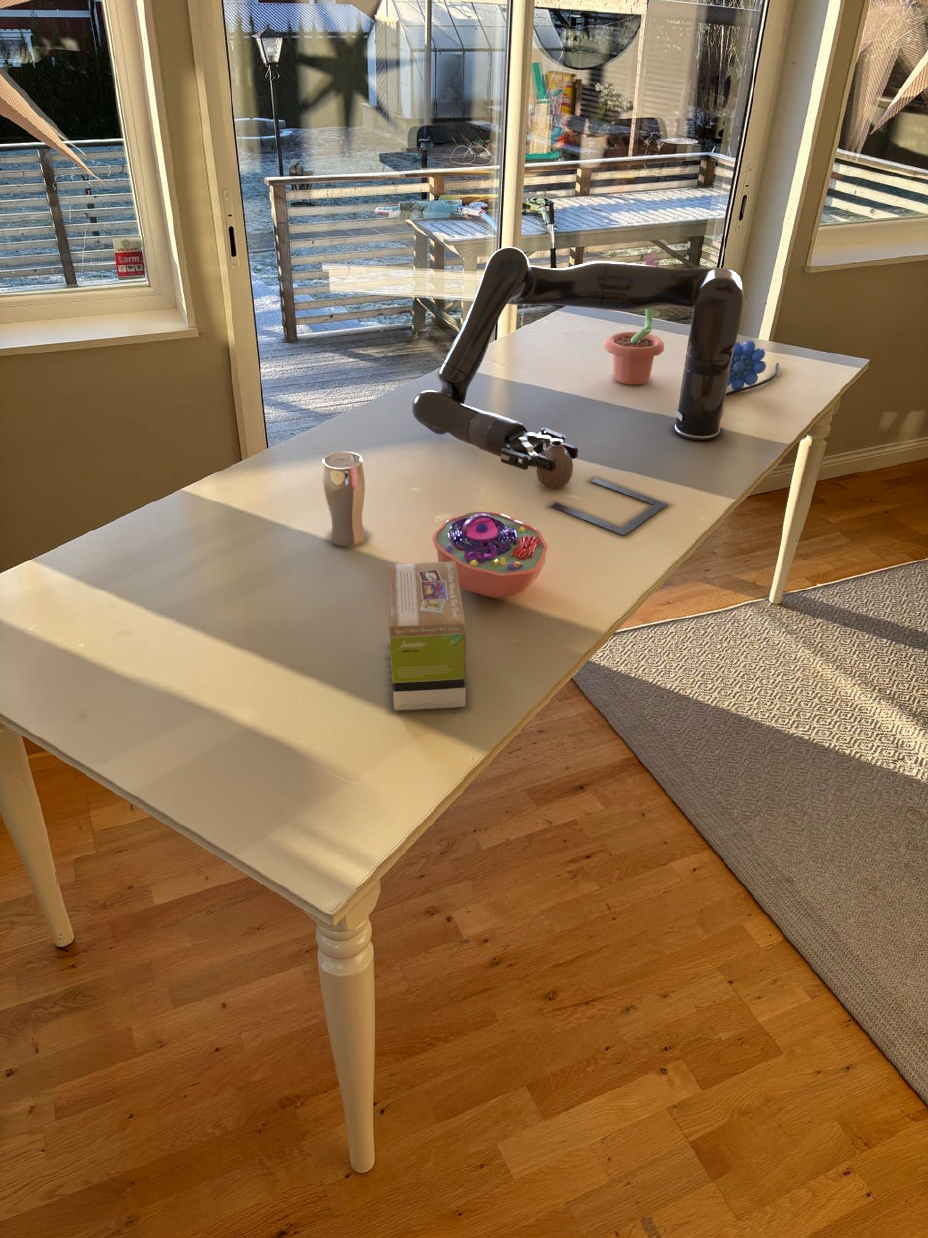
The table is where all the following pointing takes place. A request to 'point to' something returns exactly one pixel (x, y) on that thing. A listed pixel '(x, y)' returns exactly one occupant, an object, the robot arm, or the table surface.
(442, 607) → the tea box
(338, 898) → the table surface
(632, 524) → the tape u shape
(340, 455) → the beer glass
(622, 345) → the decorative flower
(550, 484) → the vase
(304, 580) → the table surface
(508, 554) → the cell model
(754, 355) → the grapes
